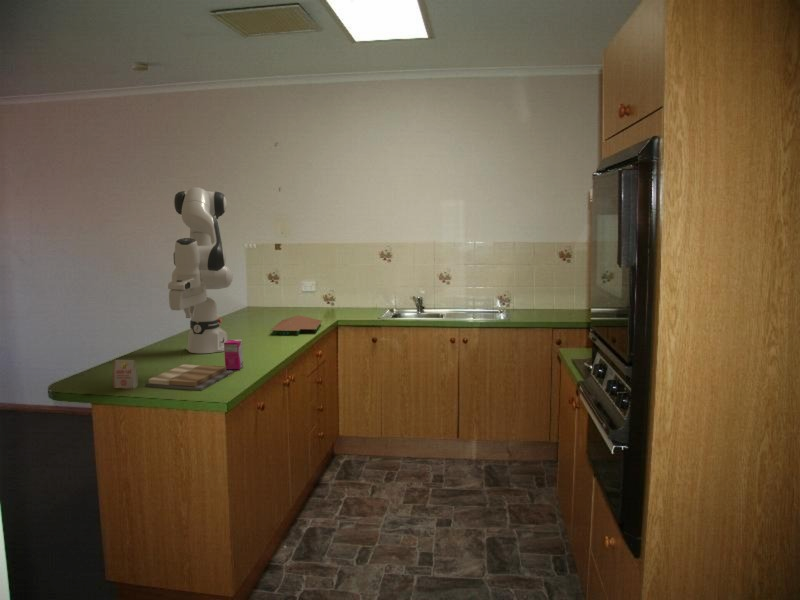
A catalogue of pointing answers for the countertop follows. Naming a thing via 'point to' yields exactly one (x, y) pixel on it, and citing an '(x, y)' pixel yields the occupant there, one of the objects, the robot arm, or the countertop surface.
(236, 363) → the supplement box
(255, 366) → the countertop surface
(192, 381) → the walnut plank
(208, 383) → the floor board
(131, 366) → the white food carton
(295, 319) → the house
